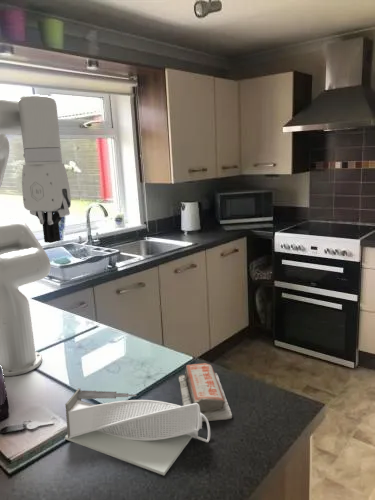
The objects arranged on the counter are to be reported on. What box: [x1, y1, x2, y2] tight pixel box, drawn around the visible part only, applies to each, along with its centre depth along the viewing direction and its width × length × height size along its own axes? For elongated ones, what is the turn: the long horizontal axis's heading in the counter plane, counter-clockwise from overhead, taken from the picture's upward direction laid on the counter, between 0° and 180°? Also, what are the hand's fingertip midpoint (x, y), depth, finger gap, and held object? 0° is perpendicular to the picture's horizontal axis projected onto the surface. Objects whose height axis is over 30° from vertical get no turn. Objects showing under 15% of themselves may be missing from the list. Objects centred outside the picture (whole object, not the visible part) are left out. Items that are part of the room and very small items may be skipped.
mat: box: [64, 431, 193, 476], centre depth 83 cm, size 23×11×1 cm, turn 63°
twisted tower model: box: [65, 388, 211, 443], centre depth 83 cm, size 8×8×28 cm
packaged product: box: [178, 362, 233, 422], centre depth 95 cm, size 18×5×10 cm
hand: (52, 241), depth 92 cm, fingers closed
